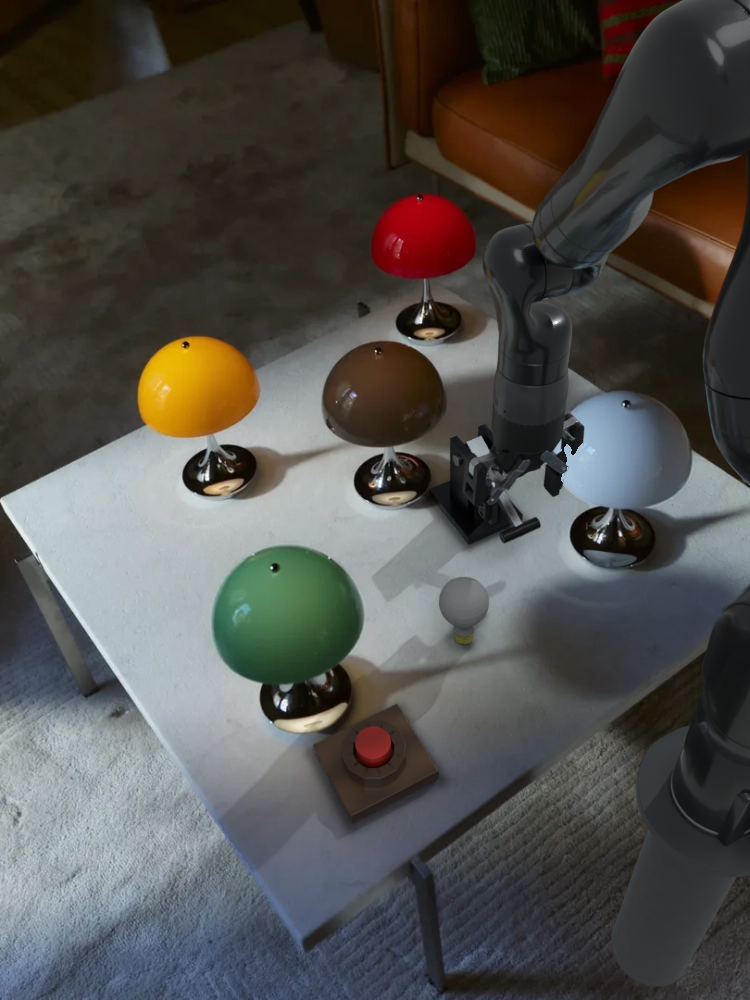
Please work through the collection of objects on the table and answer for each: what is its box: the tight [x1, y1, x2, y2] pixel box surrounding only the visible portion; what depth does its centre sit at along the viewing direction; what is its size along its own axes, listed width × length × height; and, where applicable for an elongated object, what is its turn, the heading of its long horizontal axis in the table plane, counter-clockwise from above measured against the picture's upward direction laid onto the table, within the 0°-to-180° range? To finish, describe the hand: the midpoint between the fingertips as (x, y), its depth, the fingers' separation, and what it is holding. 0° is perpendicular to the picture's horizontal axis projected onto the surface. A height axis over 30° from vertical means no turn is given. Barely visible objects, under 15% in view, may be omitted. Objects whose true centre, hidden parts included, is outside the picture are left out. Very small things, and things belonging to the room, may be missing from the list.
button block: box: [312, 703, 440, 824], centre depth 97 cm, size 9×10×4 cm
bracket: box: [428, 423, 524, 545], centre depth 118 cm, size 10×8×12 cm
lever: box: [464, 436, 542, 545], centre depth 114 cm, size 13×5×2 cm, turn 27°
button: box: [355, 726, 392, 767], centre depth 96 cm, size 4×4×2 cm
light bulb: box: [438, 576, 490, 645], centre depth 105 cm, size 6×6×10 cm
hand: (520, 505), depth 109 cm, fingers open, 8 cm apart
